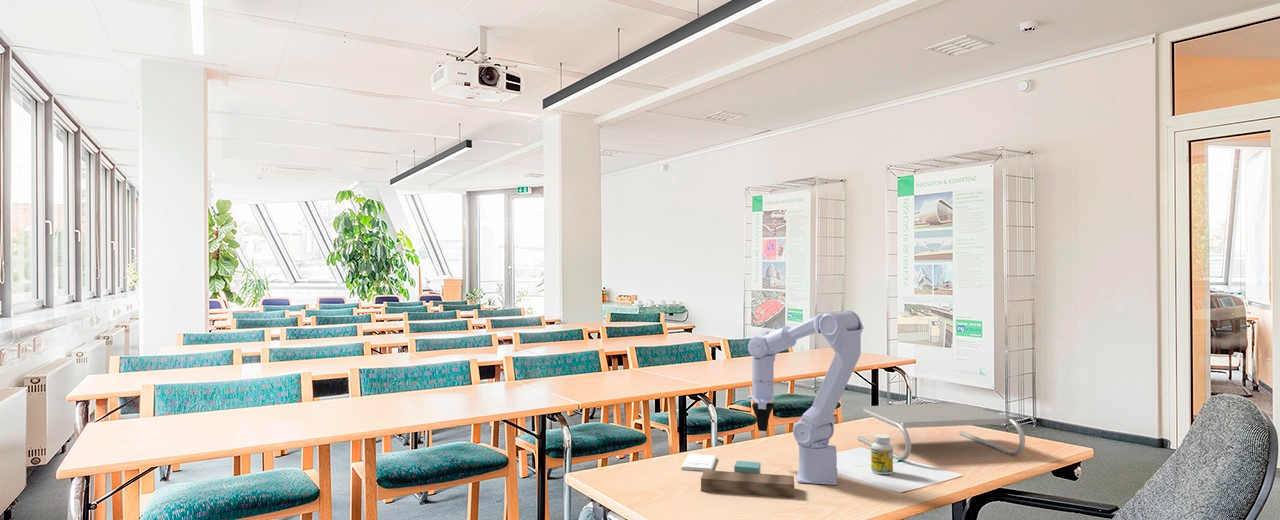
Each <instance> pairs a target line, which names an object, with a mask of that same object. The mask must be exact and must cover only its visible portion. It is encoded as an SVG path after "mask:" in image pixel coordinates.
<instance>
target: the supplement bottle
mask: <svg viewBox="0 0 1280 520" xmlns="http://www.w3.org/2000/svg"><path fill="white" fill-rule="evenodd" d="M873 441H874V442H873V444H872V445H871V446H870V450H871V453H870V455H871V456H870V457H871V458H870V460H871V461H870V463H871V465H870V466H871V467H870V468H871V470H870V471H871V472H872V473H873V472H874V473H873V474H875V473H877V474H876V475H878V474H891V475H892V474H893V472H894V470H893V469H894V461H893V460H894V458H893V453H894V450H893V449H894V448H893V445H892V444H891V443H890V442H891V437H890V436H889V435H888V434H880V433H879V434H874V435H873Z"/></svg>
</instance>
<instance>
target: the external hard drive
mask: <svg viewBox="0 0 1280 520" xmlns="http://www.w3.org/2000/svg"><path fill="white" fill-rule="evenodd" d="M717 460H718V458H717V455H712V454H698V453H697V454H696V453H695V454H694V453H687V456H686V457H685V459H684V461H683V463H682V465H681V466H680V471H692V472H693V471H697V472H704V470H711V471H714V470H713V469H714V467H715V465H716V463H717Z"/></svg>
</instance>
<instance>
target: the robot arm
mask: <svg viewBox="0 0 1280 520" xmlns="http://www.w3.org/2000/svg"><path fill="white" fill-rule="evenodd" d="M863 330H864V325H863V323H862V321H861V318H860V316H859V314H857V313H856V312H855V311H853V310H846V311H838V312H837V311H836V312H832V311H829V312H825V313H822V314H818V315H815V316H814V317H811V318H809V319H807V320H805V321H803V322H801V323H799V324H797V325H795V326H793V327H791V326H787V325H778V326H776V329H774V330H772V331H770V332H769V331H766V332H763V335H762V336H755V335H754V336H753V337H752V338H751V339H749V342H748V344H747V350H748V353H749V355H750V356H751V357H752V358H751V359H752V363H751V367H752V368H751V369H752V371H751V372H752V373H751V374H752V375H751V377H752V380H751V382H752V383H751V384H752V385H751V391H752V392H751V393H752V394H751V395H747V399H748V400H751V401H753V403H752V404H751V408H752V410H753V412H754V414H755V420H756V424H757V430H758V432H767V430H768V426H769V419H770V415H771V413H772V411H773V410H774V403H773V402H774V401H775V396H774V388H775V387H774V377H775V376H774V374H775V373H774V365H775V364H774V362H775V360H776V355H777V354H778V353H780V352H783V351H785V350H787V349H790V348H792V347H794V346H796V344H797V340H799V339H802V338H805V337H808V336H810V335H813V334H815V333H816V334H821V335H822V336H823V338H824V339H825V340H826V341H827V343H828V344H829V346H830V347H831V348H832V349H833V352H834V356H833V358H832V360H831V363H830V365H829V367H828V368H827V372H826V374H825V375H824V378H823V381H821V384H820V387H819V389H818V392H817V393H816V396H815V398H814V401H813V403H812V405H811V406H810V407H809V408H808V409H807V410H805V412H804V413H803V414H802V415H801V417H800V419H799V420H797V421H796V422H795V423H794V425H793V427H792V434H793V437H794V440H795V441H796V442H797V445H798V471H796V480H797V483H801V484H802V483H803V484H818V485H830V486H837V484H838V483H837V482H838V481H837V476H838V467H837V462H838V461H837V458H838V456H837V455H838V453H837V446H836V445H832V444H830V439H831V438H832V437H833V435H834V432H835V423H836V420H837V418H836V417H835V415H834V413H835V410H836V408H837V406H838V404H839V402H840V400H841V397H842V396H843V393H844V392H845V389H846V387H847V384H848V383H849V380H850V378H851V376H852V374H853V371H854V370H855V367H856V366H857V363H858V361H859V359H860V356H861V346H862V345H861V344H862V343H861V342H862V341H861V339H862V337H861V335H862V332H863Z"/></svg>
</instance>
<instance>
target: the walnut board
mask: <svg viewBox="0 0 1280 520" xmlns="http://www.w3.org/2000/svg"><path fill="white" fill-rule="evenodd" d="M700 492H710V493H711V492H712V493H724V494H737V495H738V494H739V495H751V496H767V497H769V496H770V497H780V498H781V497H783V498H784V497H785V498H795V476H794V475H790V474H789V475H787V474H770V473H760V474H758V473H742V472H734V471H723V470H712V471H711V470H704V471H702V474H701V477H700Z"/></svg>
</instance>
